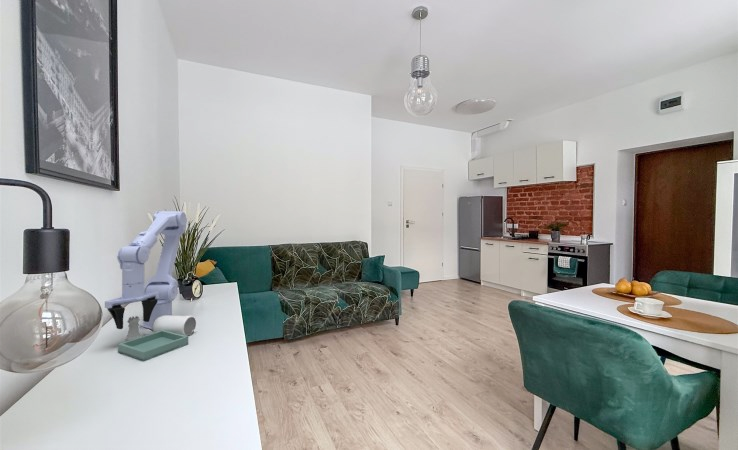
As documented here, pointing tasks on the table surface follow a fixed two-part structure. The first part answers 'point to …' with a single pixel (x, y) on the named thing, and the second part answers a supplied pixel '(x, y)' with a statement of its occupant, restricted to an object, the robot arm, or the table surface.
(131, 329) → the rook chess piece
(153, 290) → the robot arm
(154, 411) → the table surface
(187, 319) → the can
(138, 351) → the tray
